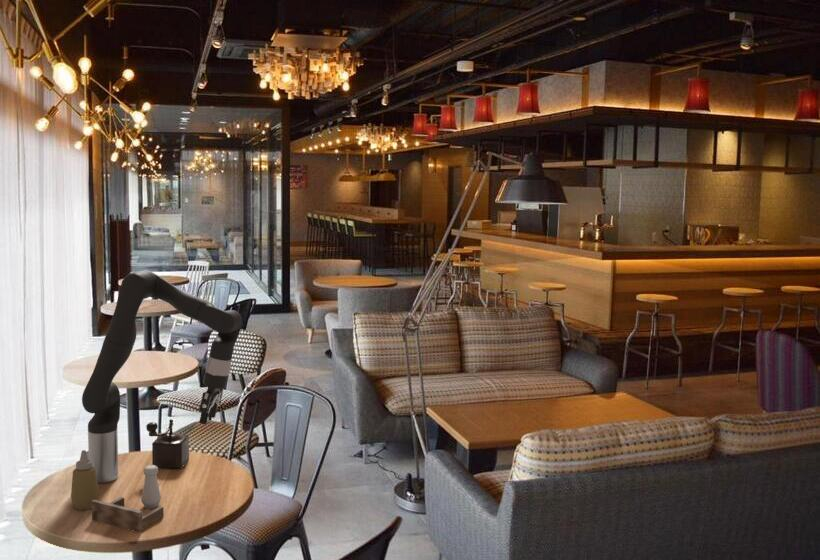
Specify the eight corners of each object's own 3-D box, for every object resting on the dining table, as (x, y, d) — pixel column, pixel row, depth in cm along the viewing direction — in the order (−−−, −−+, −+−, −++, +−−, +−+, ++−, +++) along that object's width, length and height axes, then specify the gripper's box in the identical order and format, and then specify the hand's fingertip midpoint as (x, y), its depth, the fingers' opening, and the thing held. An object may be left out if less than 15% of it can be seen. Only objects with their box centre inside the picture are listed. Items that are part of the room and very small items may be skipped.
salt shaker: (154, 511, 231) (154, 471, 229) (137, 509, 232) (137, 469, 230) (164, 503, 236) (163, 464, 234) (147, 501, 237) (147, 462, 236)
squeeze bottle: (81, 514, 227) (79, 457, 224) (65, 507, 231) (63, 451, 229) (104, 505, 234) (103, 450, 231) (88, 498, 238) (87, 444, 235)
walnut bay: (92, 520, 223) (91, 501, 222) (119, 505, 234) (119, 487, 233) (139, 532, 217) (139, 513, 216) (165, 516, 227) (165, 498, 226)
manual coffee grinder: (159, 457, 274) (159, 410, 271) (189, 458, 274) (189, 411, 271) (144, 474, 258) (143, 424, 256) (176, 475, 258) (175, 425, 256)
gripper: (213, 365, 245) (203, 412, 246) (198, 372, 231) (188, 423, 232) (235, 370, 245) (225, 417, 246) (221, 378, 231) (211, 428, 232)
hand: (207, 420), depth 239 cm, fingers open, 8 cm apart
